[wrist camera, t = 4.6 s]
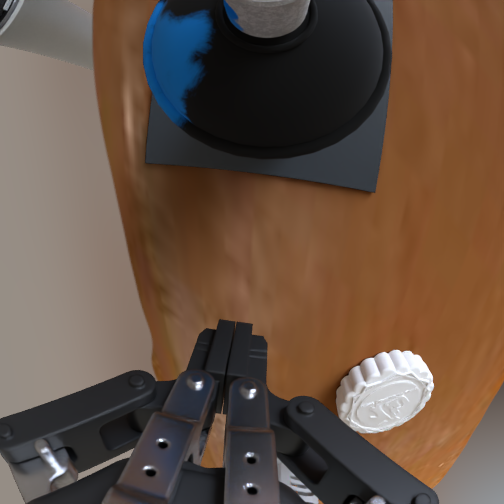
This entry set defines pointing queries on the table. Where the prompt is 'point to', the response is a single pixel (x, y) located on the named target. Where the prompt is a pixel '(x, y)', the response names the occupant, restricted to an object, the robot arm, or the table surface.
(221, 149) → the aerosol can
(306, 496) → the french press
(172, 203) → the table surface
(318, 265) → the table surface
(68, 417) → the robot arm
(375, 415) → the mooncake
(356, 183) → the board
